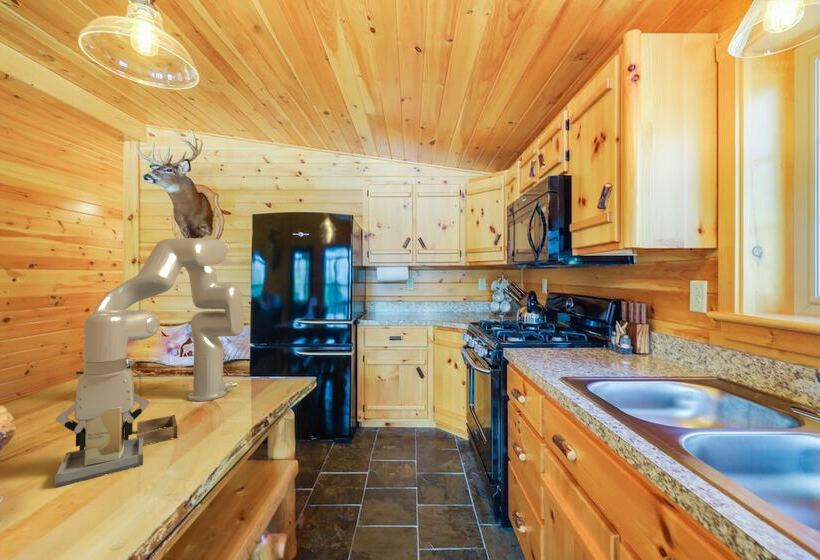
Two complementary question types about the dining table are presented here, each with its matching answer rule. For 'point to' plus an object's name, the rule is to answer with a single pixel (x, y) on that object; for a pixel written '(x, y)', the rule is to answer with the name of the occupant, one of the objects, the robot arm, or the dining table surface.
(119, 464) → the tray
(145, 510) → the dining table surface
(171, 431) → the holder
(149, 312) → the robot arm
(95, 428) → the skincare box
